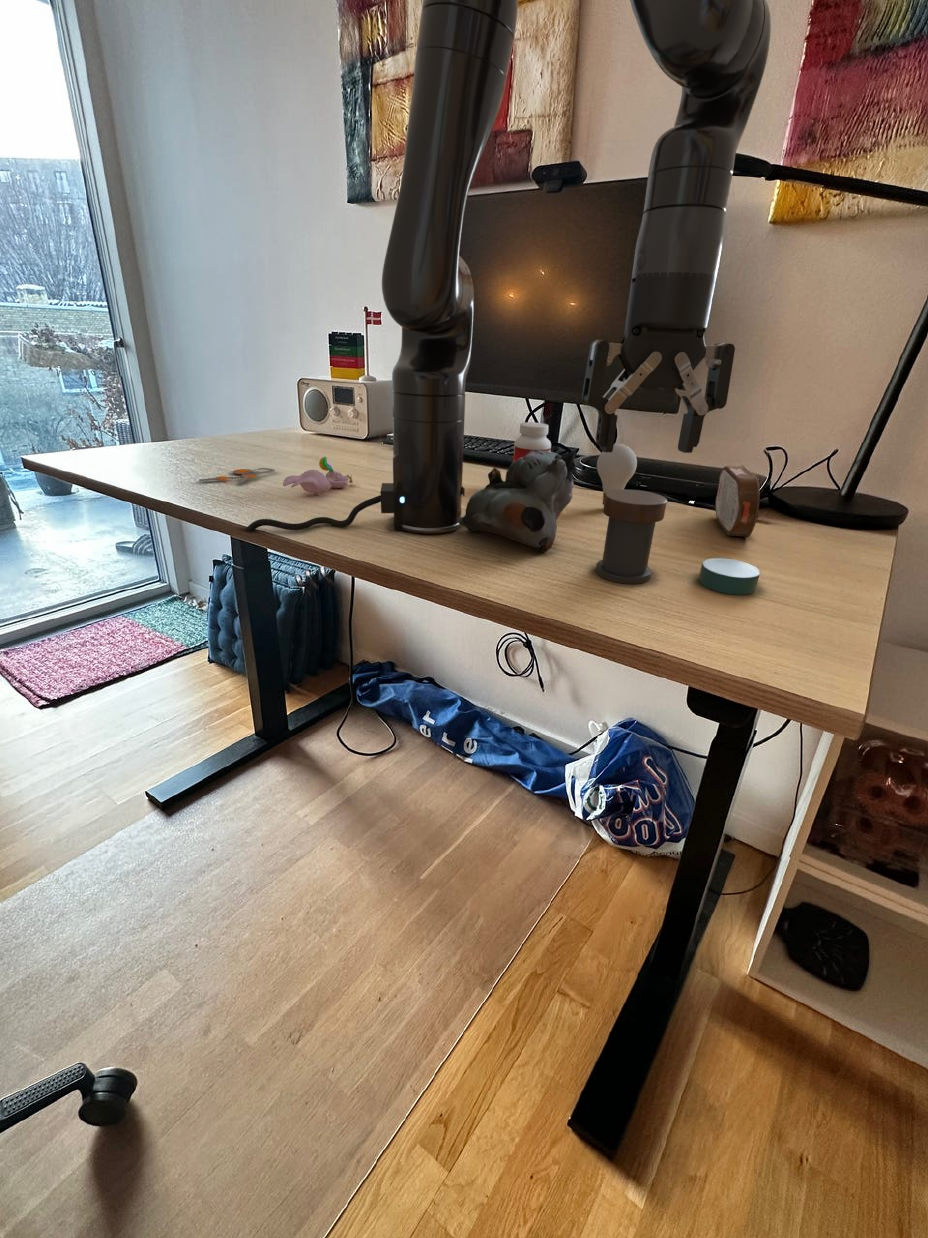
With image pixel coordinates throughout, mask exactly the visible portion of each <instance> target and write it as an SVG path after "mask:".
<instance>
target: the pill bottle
mask: <svg viewBox="0 0 928 1238" xmlns="http://www.w3.org/2000/svg"><path fill="white" fill-rule="evenodd" d="M519 433H520V436H518V437H517V438H516V439H515V440H514V444H513V456H512V463H513V462H514V461H516V460H518V459H519V458H520V457H524V456H525V454H527V453H529V452H530V451H538V450H541V451H550V452H552V451H551V450H552V443H551V440H549V438H547V435H549V424H547V423H542V422H532V421H531V422H529V421H528V422H527V421H526V422H521V423H520V424H519Z"/></svg>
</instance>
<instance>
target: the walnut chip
mask: <svg viewBox="0 0 928 1238" xmlns="http://www.w3.org/2000/svg"><path fill="white" fill-rule="evenodd" d="M667 502H668V499H667V497H665V496H663V495H661V494H658V493H655V492H651V491H647V490H641V489H625V488H624V489H622V490H612V491H609V492H607V493H606V494H605V501H604V505H603V508H602V513H603V514H604V515H605V516H607V517H608V518H609V517H611V518H613V519H616V520H620V521H625V522H632V523H654V522H655V523H659V522H662V521H663V520H664V518H665V513H666V508H667V504H668V503H667Z"/></svg>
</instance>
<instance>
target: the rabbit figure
mask: <svg viewBox="0 0 928 1238" xmlns="http://www.w3.org/2000/svg"><path fill="white" fill-rule="evenodd" d="M327 460H328V457H327V456H323V457H321V458H320V459H319V462H318V465H319V468H320V469H321V470H323V471H326V472H327V473H326V474H324V473H323V472H321V471H320V470H318V469H317V470H316V469H309V470H306V471H304V472H302V473H301V474H299V475H289V476H286V477H285V478H284V479H283V482H282V486H283V487H287V486H290V488H294V487H295V488H296V487H297V486H300V487H301V488H302V490H303V491H305V492H307V493H310V494H311V493H313V496H317V495H318V496H321V495H322V494H323V493H326V492H328V491H329V490H330V489H331V488H332V489H345V488H346V487H347V486H348V484H350V486H352V485H354V481H353V477H352V476H353V474H346V475H343V474H342V473H341V472H338V471H336V470H334V468H333V467H332V466H331V464H329V463H328V461H327Z"/></svg>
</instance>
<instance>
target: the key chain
mask: <svg viewBox="0 0 928 1238" xmlns="http://www.w3.org/2000/svg"><path fill="white" fill-rule="evenodd" d="M260 470H263V471H260ZM232 472H233V474H235V475H241V476H223V475H221V476H216V477H207V478H200V479H198V481H199V482H207V481H208V482H209V481H226V480H233V479H234V480H236V479H239V480H237V481H236V483H237V484H242V483H244V482H246V481H248V480H250V479H254V478H256V475H260V474H261V475H262V474H267V473H273V472H276V470H275V469H274V468H268V467H259V468H256V469H248V468H240V469H239V468H238V469H235V470H233V471H232Z"/></svg>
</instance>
